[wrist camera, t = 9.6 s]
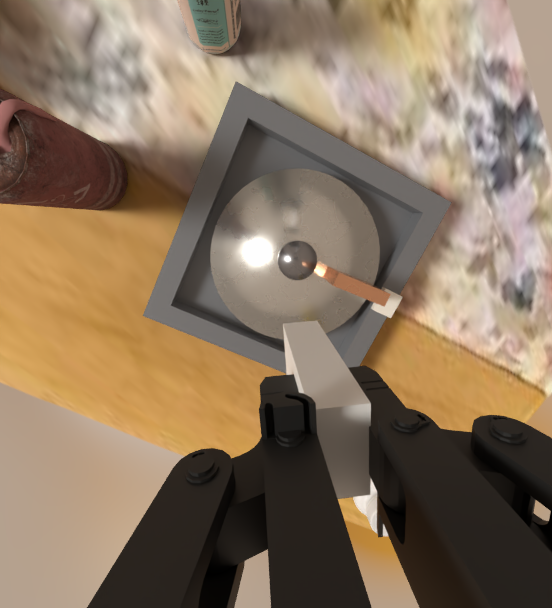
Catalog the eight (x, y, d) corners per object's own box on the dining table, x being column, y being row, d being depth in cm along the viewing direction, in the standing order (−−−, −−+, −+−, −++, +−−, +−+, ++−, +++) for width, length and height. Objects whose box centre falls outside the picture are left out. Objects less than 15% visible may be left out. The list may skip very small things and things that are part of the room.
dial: (190, 301, 32) (176, 318, 27) (248, 142, 29) (247, 122, 23) (331, 353, 35) (347, 379, 29) (399, 213, 32) (432, 211, 26)
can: (144, 171, 30) (59, 132, 17) (105, 223, 31) (-7, 225, 18) (88, 123, 29) (-54, 38, 15) (48, 179, 30) (-119, 144, 16)
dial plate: (237, 95, 29) (235, 77, 26) (434, 204, 33) (456, 201, 29) (152, 307, 34) (140, 318, 30) (335, 382, 37) (344, 399, 34)
